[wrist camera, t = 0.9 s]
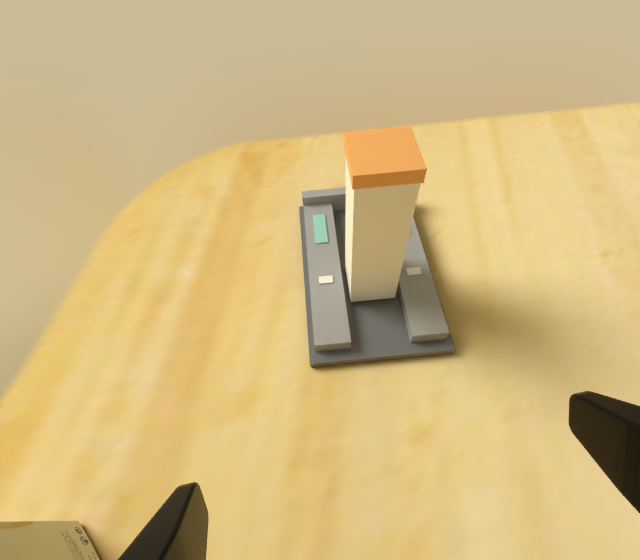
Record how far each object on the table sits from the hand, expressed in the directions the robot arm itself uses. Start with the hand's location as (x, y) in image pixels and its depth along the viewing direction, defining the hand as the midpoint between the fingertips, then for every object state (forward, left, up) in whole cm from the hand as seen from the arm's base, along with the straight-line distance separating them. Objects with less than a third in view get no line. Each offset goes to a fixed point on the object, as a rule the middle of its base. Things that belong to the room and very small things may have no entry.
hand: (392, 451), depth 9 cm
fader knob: (+7, -12, -14) cm, 20 cm away
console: (+8, -13, -14) cm, 21 cm away
